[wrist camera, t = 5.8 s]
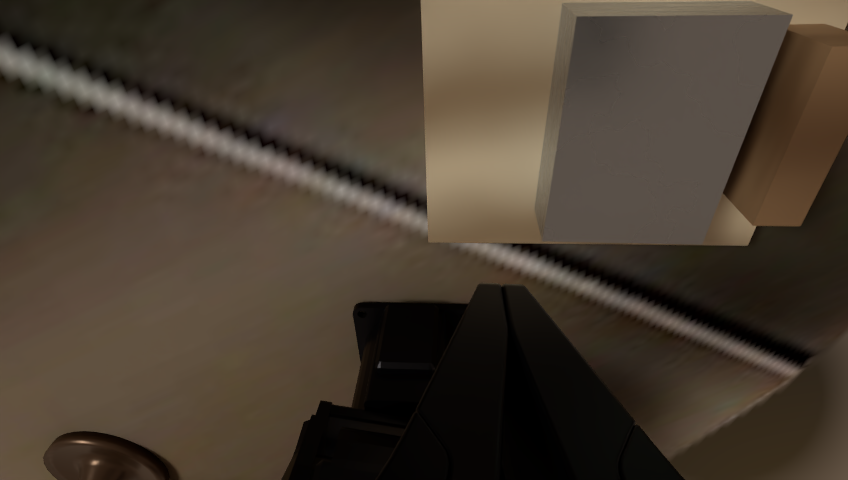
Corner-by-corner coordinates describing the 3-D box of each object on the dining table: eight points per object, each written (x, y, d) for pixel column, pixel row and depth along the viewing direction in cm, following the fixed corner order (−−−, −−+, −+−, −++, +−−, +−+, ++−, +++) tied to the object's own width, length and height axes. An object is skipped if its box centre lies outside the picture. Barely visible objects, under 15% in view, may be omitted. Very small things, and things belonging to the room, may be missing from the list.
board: (734, 230, 22) (786, 291, 18) (429, 227, 23) (424, 285, 19) (868, -89, 15) (991, -87, 11) (421, -73, 16) (410, -67, 12)
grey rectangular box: (678, 211, 20) (702, 244, 18) (534, 209, 20) (542, 241, 18) (750, 0, 15) (792, 14, 13) (562, 2, 16) (576, 16, 14)
